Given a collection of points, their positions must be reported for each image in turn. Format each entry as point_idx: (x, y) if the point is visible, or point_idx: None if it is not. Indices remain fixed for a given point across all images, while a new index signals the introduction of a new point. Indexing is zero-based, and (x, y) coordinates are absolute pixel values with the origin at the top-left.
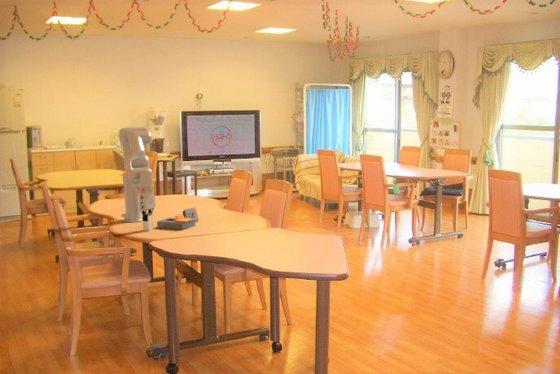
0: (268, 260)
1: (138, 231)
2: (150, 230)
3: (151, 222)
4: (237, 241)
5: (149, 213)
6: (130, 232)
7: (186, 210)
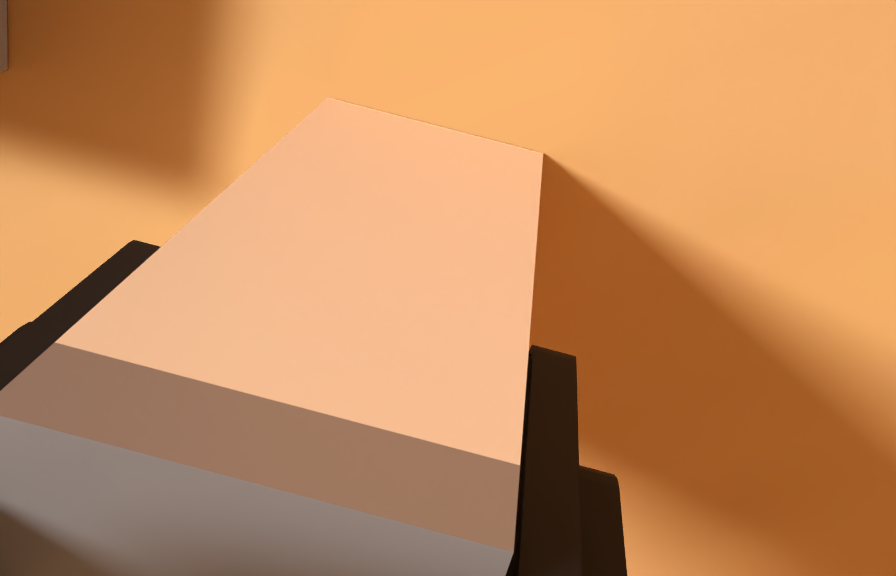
0: None
1: (610, 425)
2: (455, 131)
3: (317, 200)
4: None
5: (105, 569)
6: (754, 567)
7: None
